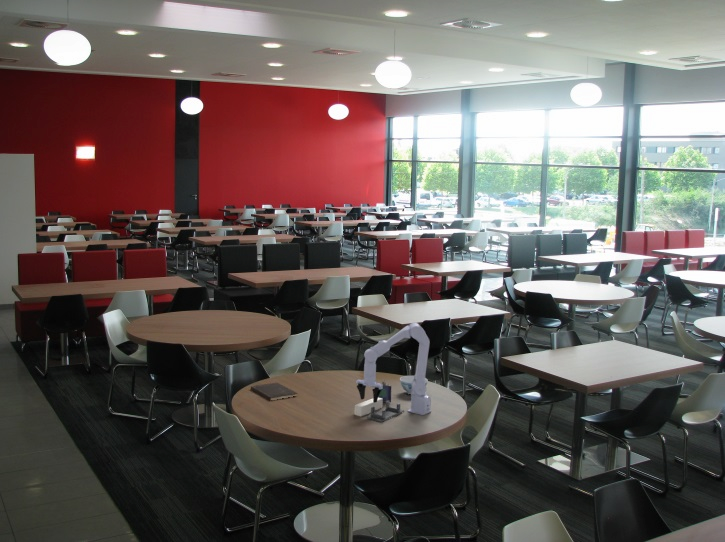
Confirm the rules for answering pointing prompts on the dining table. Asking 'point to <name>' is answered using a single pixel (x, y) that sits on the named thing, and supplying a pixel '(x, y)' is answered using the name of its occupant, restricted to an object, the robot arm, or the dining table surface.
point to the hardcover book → (273, 391)
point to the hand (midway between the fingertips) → (368, 400)
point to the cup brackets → (385, 413)
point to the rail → (367, 406)
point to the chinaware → (408, 383)
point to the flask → (385, 392)
